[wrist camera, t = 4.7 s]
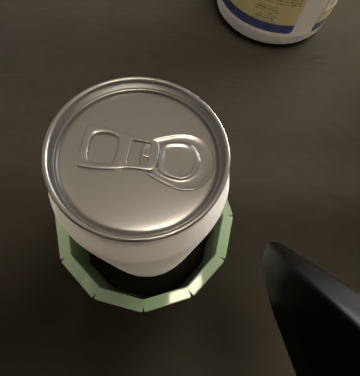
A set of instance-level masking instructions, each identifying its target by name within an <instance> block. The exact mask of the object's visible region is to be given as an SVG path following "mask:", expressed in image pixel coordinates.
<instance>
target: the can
mask: <svg viewBox="0 0 360 376" xmlns="http://www.w3.org/2000/svg"><path fill="white" fill-rule="evenodd" d="M41 166H42V173H43V178H44V182H45V185H46V187H47V190H48V194H49V199H50V203H51V206H52V208H53V211H54V213H55V215H56V217H57V219H58V221H59V222H60V224H61V225H62V227H63V228H64V229H65V230H66V232H67V233H68V234H69V235H70V236H71V237H72V238H73V239H74V240H75V241H76V242H77V243H78V244H80V245H81V246H82V247H83V248H85V249H86V250H88V251H89V252H91V253H92V254H94V255H95V256H97V257H99V258H101V259H102V260H104V261H106V262H108V263H109V264H111V265H113V266H115V267H116V268H118V269H120V270H122V271H124V272H126V273H129V274H131V275H135V276H140V277H153V276H158V275H161V274H164V273H166V272H168V271H170V270H172V269H173V268H175V267H176V266H177V265H178V264H179V263H181V262H182V261H183V260H184V259H185V258H186V257H187V256H188V255H189V254H190V253H191V252H192V251H193V250H194V248H195V247H196V246H197V245H198V244H199V243H200V242H201V241H202V240H203V239H204V238H205V237H206V236H207V234H208V233H209V232H210V231H211V229H212V228H213V227H214V225H215V224H216V222H217V220H218V219H219V217H220V215H221V213H222V210H223V208H224V206H225V203H226V199H227V195H228V190H229V169H230V148H229V143H228V139H227V136H226V133H225V130H224V128H223V126H222V124H221V122H220V120H219V119H218V117H217V116H216V114H215V113H214V112H213V110H212V109H211V108H210V107H209V106H208V105H207V104H206V103H205V102H204V101H203V100H202V99H200V98H199V97H198V96H197V95H195V94H194V93H192V92H191V91H189V90H187V89H185V88H183V87H181V86H179V85H177V84H174V83H172V82H169V81H165V80H161V79H157V78H150V77H123V78H116V79H112V80H108V81H105V82H102V83H99V84H96V85H94V86H92V87H90V88H88V89H86V90H84V91H82V92H81V93H79V94H78V95H76V96H75V97H74V98H72V99H71V100H70V101H69V102H68V103H67V104H66V105H65V106H64V107H63V108H62V109H61V110H60V111H59V112H58V114H57V115H56V116H55V118H54V119H53V121H52V123H51V124H50V126H49V128H48V131H47V133H46V136H45V139H44V142H43V147H42V154H41Z"/></svg>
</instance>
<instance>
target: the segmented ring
mask: <svg viewBox="0 0 360 376" xmlns="http://www.w3.org/2000/svg"><path fill="white" fill-rule="evenodd" d="M232 215H233V214H232V211H231V209H230V206H229V203H228V200H227V199H226V203H225V206H224V208H223V210H222V213H221V215H220V217H219V219H218V220H217V222H216V224H215V225H214V227H213V228H212V229H211V231H210V232H209V233H208V236H207V241H206V246H205V250H204V255H203V259H202V263H201V264H200V265H199V266H198V267H197V268H196V269H195V270H194V271H193V273H192V274H191V275H190V276H189V277H188V278H187V279H186V280H185V281H184V282H183V284H182V285H181V286H180V287H178V288H174V289H171V290H168V291H164V292H161V293H158V294H154V295H151V296H148V297H144V296H141V295H137V294H134V293H130V292H126V291H123V290H119V289H116V288H113V287H112V286H111V285H110V284H109V283H108V282H107V280H106V279H105V278H104V277H103V276H102V275H101V274H100V273H99V271H98V270H97V269H96V268H95V267H94V266H93V265H92V263H91V261H90V255H89V251H88V250H86V249H85V248H83V247H82V246H81V245H80V244H78V243H77V242H76V241H75V240H74V239H73V238H72V237H71V236H70V235H69V234H68V233H67V232H66V230H65V229H64V228H63V227H62V225H61V224H60V222H59V221H58V219H57V217H56V215H55V220H56V229H57V238H58V246H59V255H60V259H61V260H63V261H62V264H63V265H64V266H65V267H66V268H67V270H68V271H69V272H70V273H71V274H72V275H73V277H74V278H75V279H76V280H77V281H78V282H79V284H80V285H81V286H82V287H83V288H84V290H85V291H86V292H87V293H88V294H89V295H90V297H95V298H94V299H95V300H98V301H101V302H105V303H108V304H112V305H116V306H119V307H123V308H126V309H130V310H134V311H137V312H142V311H143V309H144V312H148V311H151V310H154V309H158V308H161V307H164V306H167V305H171V304H174V303H177V302H180V301H183V300H187V299H190V298H191V296H195V294H196V293H197V292H198V291H199V290H200V289H201V288H202V286H203V285H204V284H205V283H206V282H207V281H208V280H209V278H210V277H211V276H212V275H213V274H214V273H215V272H216V270H217V269H218V268H219V267H220V266H221V265H222V264H223V262H224V261H223V260H224V259H225V258H226V253H227V247H228V242H229V236H230V231H231V225H232V220H233V217H231V216H232Z"/></svg>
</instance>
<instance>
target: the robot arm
mask: <svg viewBox="0 0 360 376" xmlns="http://www.w3.org/2000/svg"><path fill="white" fill-rule="evenodd" d="M261 267H262V271H263V275H264V279H265V283H266V287H267V291H268V295H269V299H270V303H271V307H272V310H273V313H274V316H275V319H276V322H277V324H278V327H279V330H280V332H281V335H282V338H283V341H284V343H285V346H286V349H287V351H288V354H289V357H290V360H291V362H292V365H293V368H294V370H295V373H296V376H360V294H359V293H358V292H356V291H355V290H353V289H352V288H350V287H349V286H347V285H345V284H344V283H342V282H341V281H339V280H338V279H336V278H334V277H333V276H331V275H330V274H328V273H327V272H325V271H324V270H322V269H320V268H319V267H317V266H316V265H314V264H313V263H311V262H310V261H308V260H306V259H305V258H303V257H302V256H300V255H299V254H297V253H295V252H294V251H292V250H291V249H289V248H288V247H286V246H285V245H283V244H281V243H279V242H268V243H267V244H266V247H265V251H264V254H263V258H262V262H261Z"/></svg>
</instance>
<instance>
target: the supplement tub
mask: <svg viewBox="0 0 360 376" xmlns="http://www.w3.org/2000/svg"><path fill="white" fill-rule="evenodd" d="M337 1H338V0H217V3H218V8H219V10H220V13H221V14H222V16H223V17H224V19H225V20H226V21H227V22H228V23H229V24H230V25H231V26H232V27H233V28H234V29H235V30H237V31H238V32H240V33H241V34H243V35H245V36H246V37H248V38H251V39H253V40H256V41H260V42H263V43H269V44H290V43H295V42H299V41H301V40H304V39H306V38H308V37H309V36H311V35H312V34H314V33H315V32H316V31H317V30H318V29H319V28H320V27H321V26H322V25H323V24H324V22H325V21H326V19H327V17H328V15H329V14H330V12H331V11H332V9H333V7H334V6H335V4H336V3H337Z"/></svg>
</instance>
